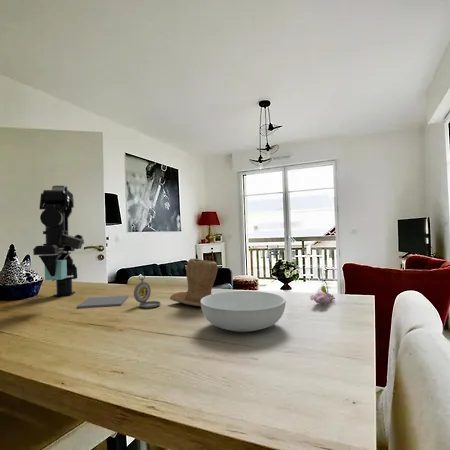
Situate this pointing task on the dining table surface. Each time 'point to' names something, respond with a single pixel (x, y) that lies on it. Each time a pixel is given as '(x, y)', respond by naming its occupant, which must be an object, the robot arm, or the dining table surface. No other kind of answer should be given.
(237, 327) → the serving bowl
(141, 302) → the pocket watch
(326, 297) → the stuffed toy
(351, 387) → the dining table surface
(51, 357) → the dining table surface
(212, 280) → the tan curved piece
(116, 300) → the charcoal mat
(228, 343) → the dining table surface
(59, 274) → the teal block
